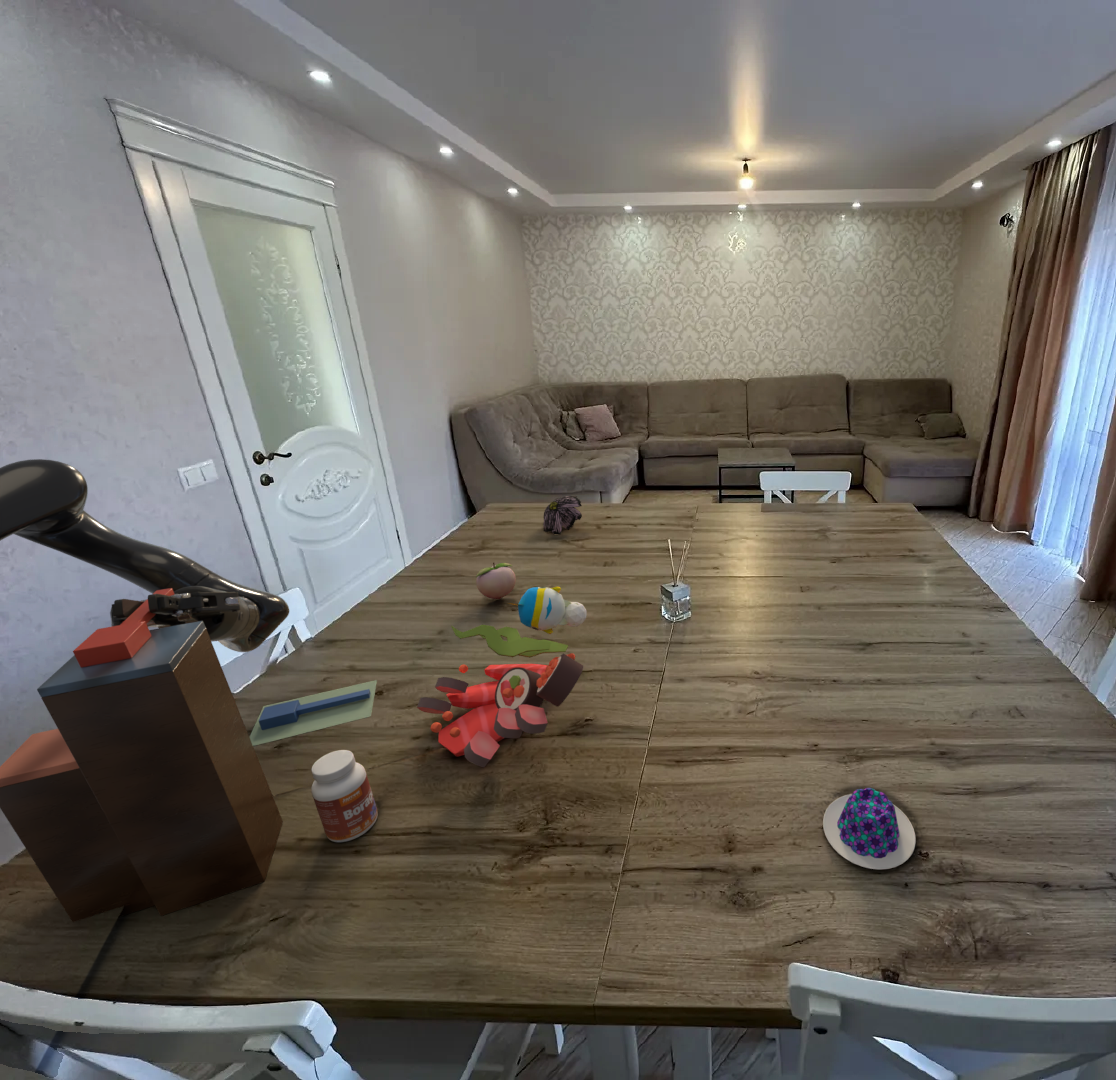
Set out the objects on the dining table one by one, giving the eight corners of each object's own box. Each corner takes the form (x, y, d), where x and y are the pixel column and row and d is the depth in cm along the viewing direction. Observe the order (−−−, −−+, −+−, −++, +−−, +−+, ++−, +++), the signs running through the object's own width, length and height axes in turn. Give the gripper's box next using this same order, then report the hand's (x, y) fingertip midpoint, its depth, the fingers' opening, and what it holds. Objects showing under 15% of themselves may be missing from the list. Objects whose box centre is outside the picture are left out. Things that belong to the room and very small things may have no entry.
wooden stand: (67, 947, 63) (-86, 713, 51) (111, 873, 71) (-12, 658, 60) (264, 881, 70) (169, 663, 58) (283, 821, 78) (203, 620, 67)
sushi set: (585, 776, 87) (409, 774, 75) (542, 739, 112) (406, 733, 101) (615, 592, 92) (456, 565, 81) (568, 597, 118) (442, 577, 107)
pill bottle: (356, 847, 74) (334, 782, 70) (315, 841, 75) (291, 777, 71) (389, 809, 80) (370, 747, 76) (350, 804, 81) (330, 743, 77)
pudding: (831, 788, 83) (834, 760, 81) (917, 811, 78) (922, 782, 77) (814, 855, 72) (816, 825, 70) (911, 886, 68) (916, 855, 66)
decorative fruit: (495, 611, 135) (489, 573, 131) (474, 603, 139) (467, 566, 135) (526, 595, 142) (521, 559, 139) (505, 588, 146) (499, 553, 143)
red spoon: (80, 668, 58) (72, 651, 57) (148, 602, 71) (142, 588, 70) (131, 658, 59) (124, 641, 58) (188, 596, 73) (183, 582, 72)
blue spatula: (267, 716, 99) (264, 707, 98) (371, 691, 105) (369, 682, 104) (261, 730, 96) (258, 720, 95) (369, 704, 102) (367, 694, 101)
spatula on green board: (244, 750, 92) (244, 748, 92) (264, 707, 102) (263, 706, 102) (371, 718, 99) (370, 716, 99) (377, 681, 109) (376, 679, 109)
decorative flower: (528, 499, 186) (570, 481, 190) (540, 525, 194) (580, 507, 198) (540, 523, 176) (584, 503, 181) (552, 549, 184) (594, 529, 189)
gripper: (140, 599, 78) (50, 585, 63) (262, 580, 84) (207, 563, 68) (146, 652, 78) (56, 652, 62) (269, 629, 83) (215, 624, 67)
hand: (136, 605), depth 65 cm, fingers closed
